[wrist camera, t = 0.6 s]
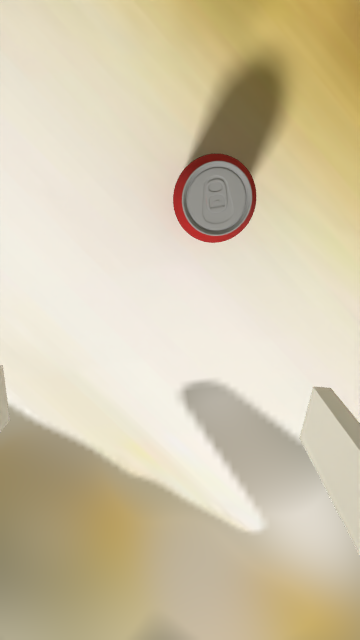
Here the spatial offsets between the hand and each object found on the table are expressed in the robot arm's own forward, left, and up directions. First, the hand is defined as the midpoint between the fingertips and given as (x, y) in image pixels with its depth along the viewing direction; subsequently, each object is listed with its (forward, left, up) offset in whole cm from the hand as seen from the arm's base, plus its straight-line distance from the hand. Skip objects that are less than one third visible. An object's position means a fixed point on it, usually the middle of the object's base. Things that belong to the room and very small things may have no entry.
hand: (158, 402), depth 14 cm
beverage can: (-8, +4, -26) cm, 28 cm away
